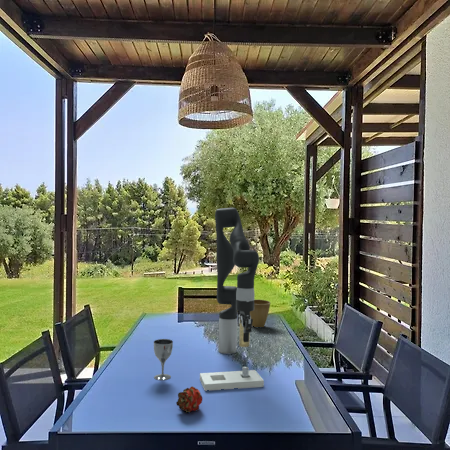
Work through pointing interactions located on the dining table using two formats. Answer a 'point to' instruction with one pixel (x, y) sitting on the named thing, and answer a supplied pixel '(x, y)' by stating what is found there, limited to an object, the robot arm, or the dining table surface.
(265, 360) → the dining table surface
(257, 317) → the plant pot
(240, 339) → the cylinder
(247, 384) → the plate
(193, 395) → the dragon fruit
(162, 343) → the wine glass
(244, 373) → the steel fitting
